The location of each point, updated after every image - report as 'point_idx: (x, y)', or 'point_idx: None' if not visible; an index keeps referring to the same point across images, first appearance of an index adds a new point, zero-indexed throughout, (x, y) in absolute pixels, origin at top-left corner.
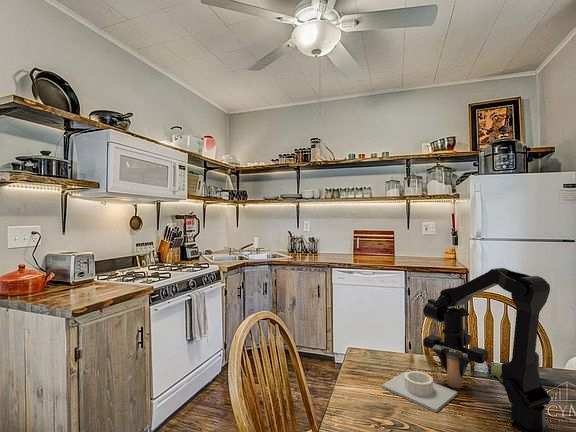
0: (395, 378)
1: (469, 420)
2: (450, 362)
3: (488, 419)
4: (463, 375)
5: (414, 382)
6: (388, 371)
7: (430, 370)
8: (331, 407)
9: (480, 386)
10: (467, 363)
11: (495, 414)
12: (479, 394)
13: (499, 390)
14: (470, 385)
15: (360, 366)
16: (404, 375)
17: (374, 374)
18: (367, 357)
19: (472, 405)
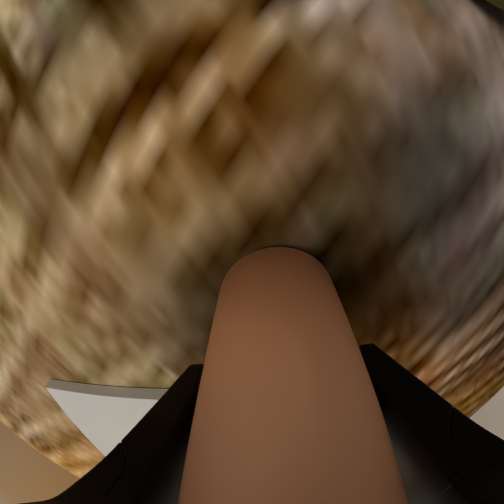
0: (101, 447)
1: None
2: None
3: (477, 392)
4: (377, 351)
5: None
6: (30, 397)
7: (34, 238)
8: None
9: (415, 137)
10: (479, 452)
11: (499, 353)
12: (444, 265)
13: (498, 99)
14: (359, 189)
15: (3, 411)
16: (81, 416)
17: (51, 433)
18: None
19: (429, 381)
